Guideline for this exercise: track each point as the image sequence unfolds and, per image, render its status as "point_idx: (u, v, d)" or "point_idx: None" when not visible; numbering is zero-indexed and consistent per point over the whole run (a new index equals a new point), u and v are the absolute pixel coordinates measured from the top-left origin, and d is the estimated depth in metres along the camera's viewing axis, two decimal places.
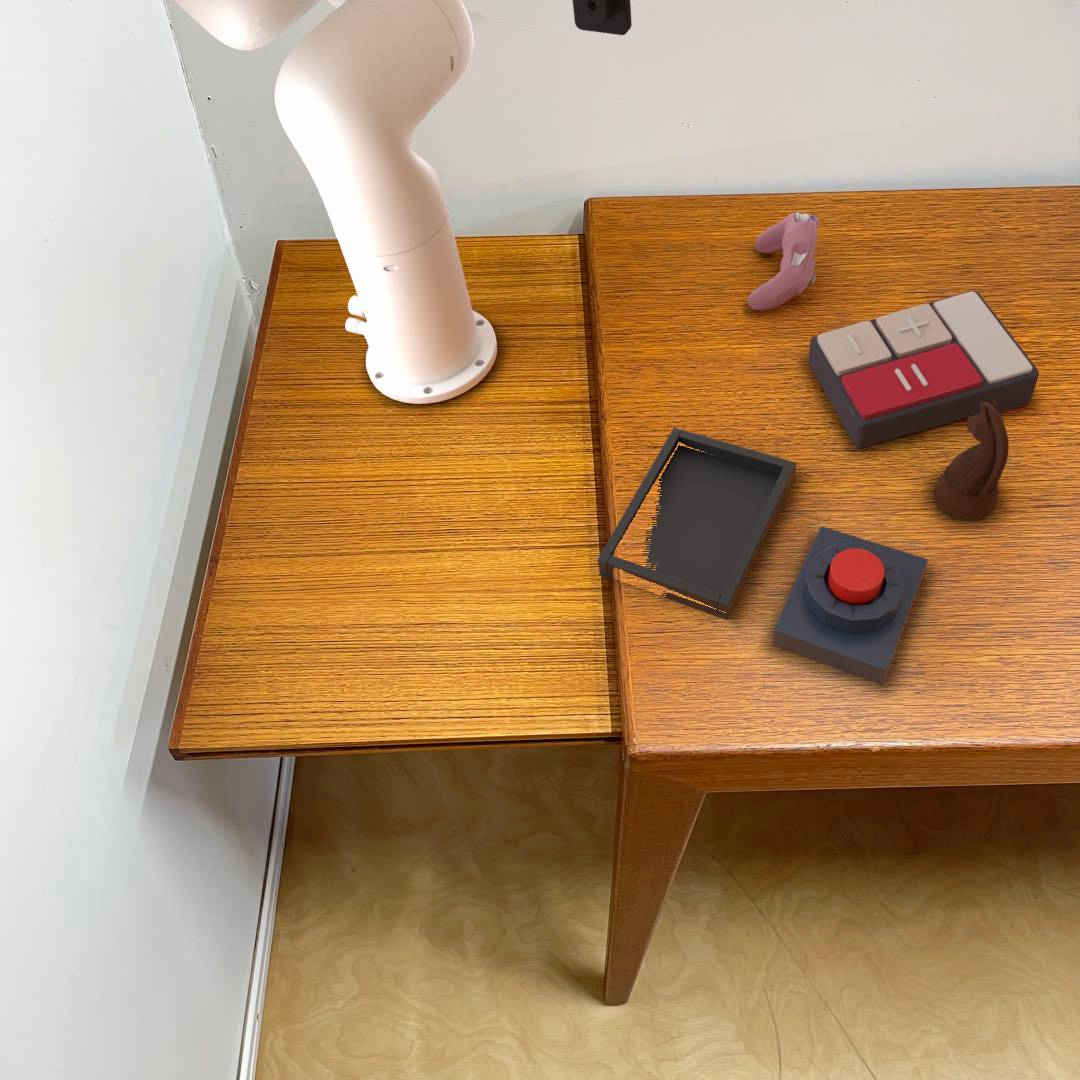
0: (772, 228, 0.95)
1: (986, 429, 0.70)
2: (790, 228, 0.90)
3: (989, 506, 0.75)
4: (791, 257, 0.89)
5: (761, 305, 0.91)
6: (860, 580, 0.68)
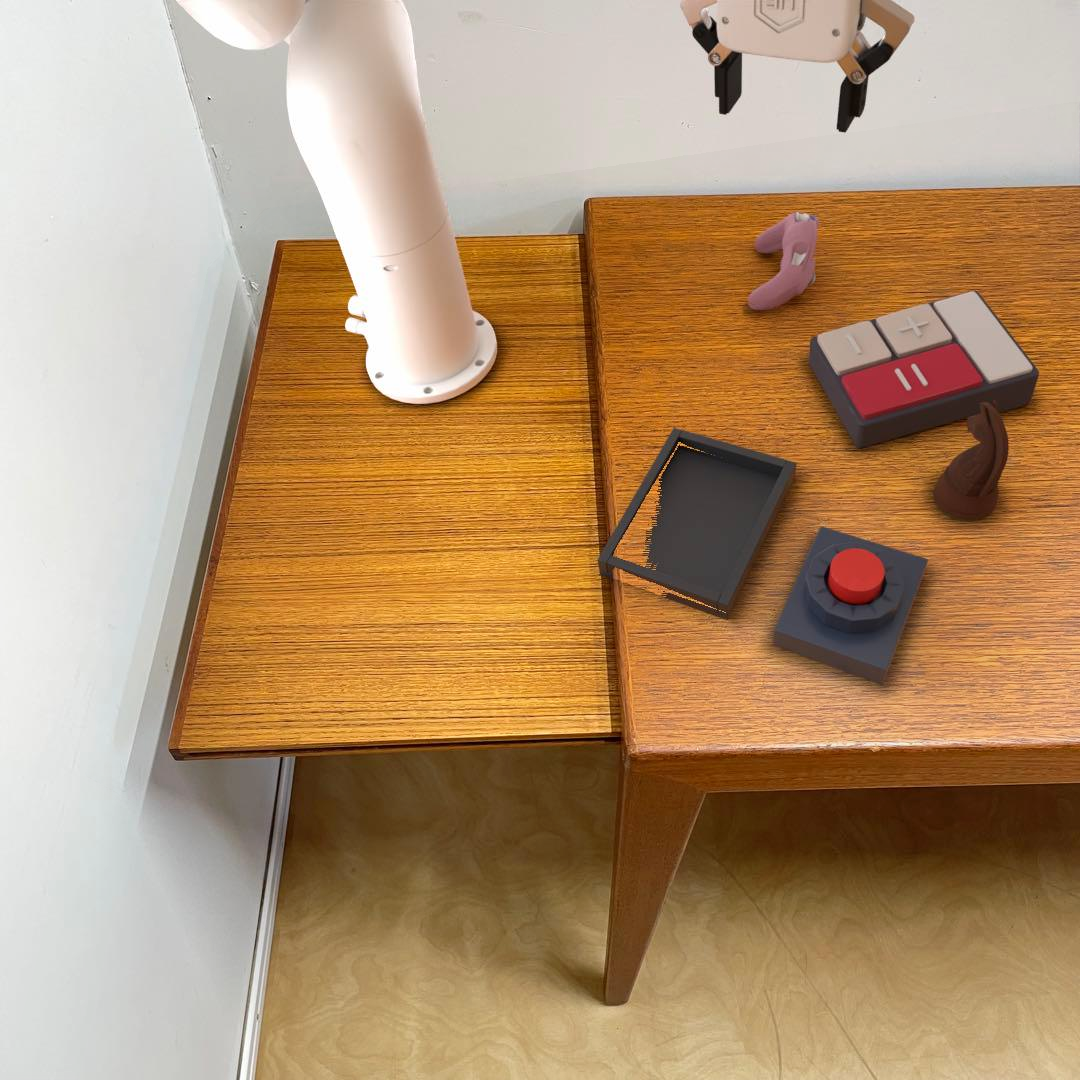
0: (772, 228, 0.95)
1: (986, 429, 0.70)
2: (790, 228, 0.90)
3: (989, 506, 0.75)
4: (791, 257, 0.89)
5: (761, 305, 0.91)
6: (860, 580, 0.68)
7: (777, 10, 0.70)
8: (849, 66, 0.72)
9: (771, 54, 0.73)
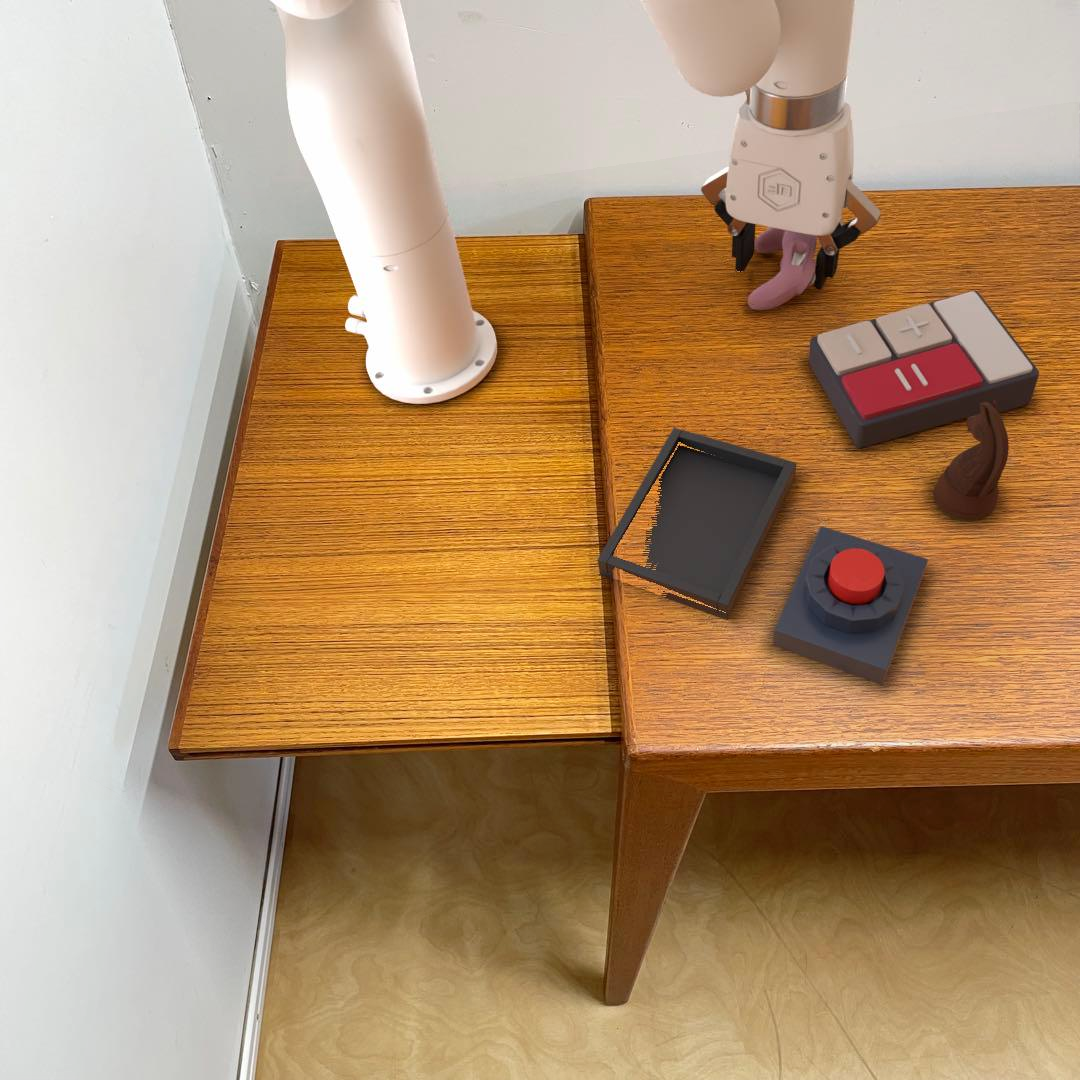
0: (772, 228, 0.95)
1: (986, 429, 0.70)
2: None
3: (989, 506, 0.75)
4: (791, 257, 0.89)
5: (761, 305, 0.91)
6: (860, 580, 0.68)
7: (777, 195, 0.84)
8: (826, 241, 0.87)
9: (771, 226, 0.87)
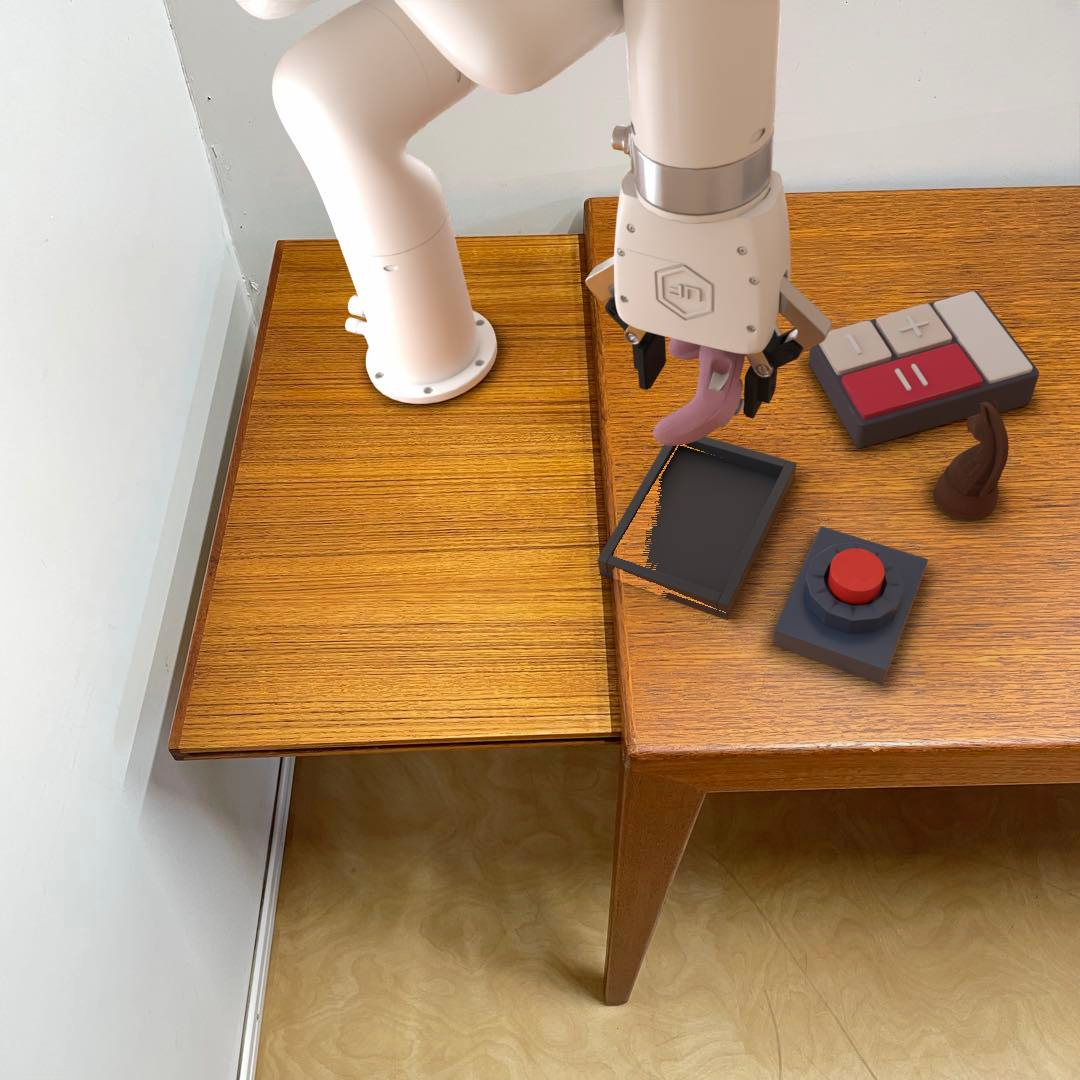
0: None
1: (986, 429, 0.70)
2: None
3: (989, 506, 0.75)
4: (709, 378, 0.64)
5: (671, 440, 0.66)
6: (860, 580, 0.68)
7: (682, 299, 0.59)
8: (756, 359, 0.62)
9: (678, 338, 0.62)
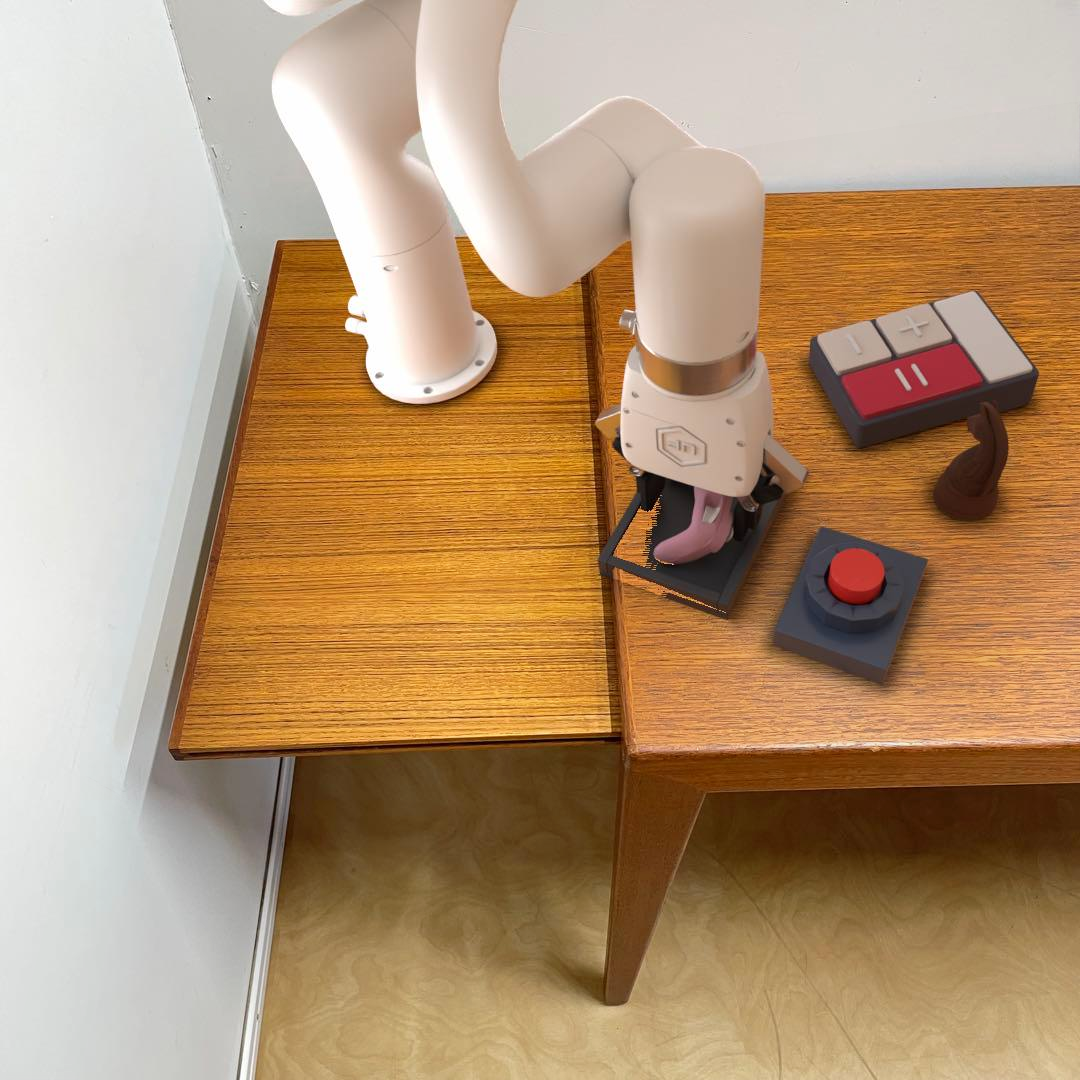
0: None
1: (986, 429, 0.70)
2: None
3: (989, 506, 0.75)
4: (702, 511, 0.73)
5: (669, 560, 0.75)
6: (860, 580, 0.68)
7: (679, 451, 0.68)
8: (743, 497, 0.71)
9: (676, 480, 0.71)
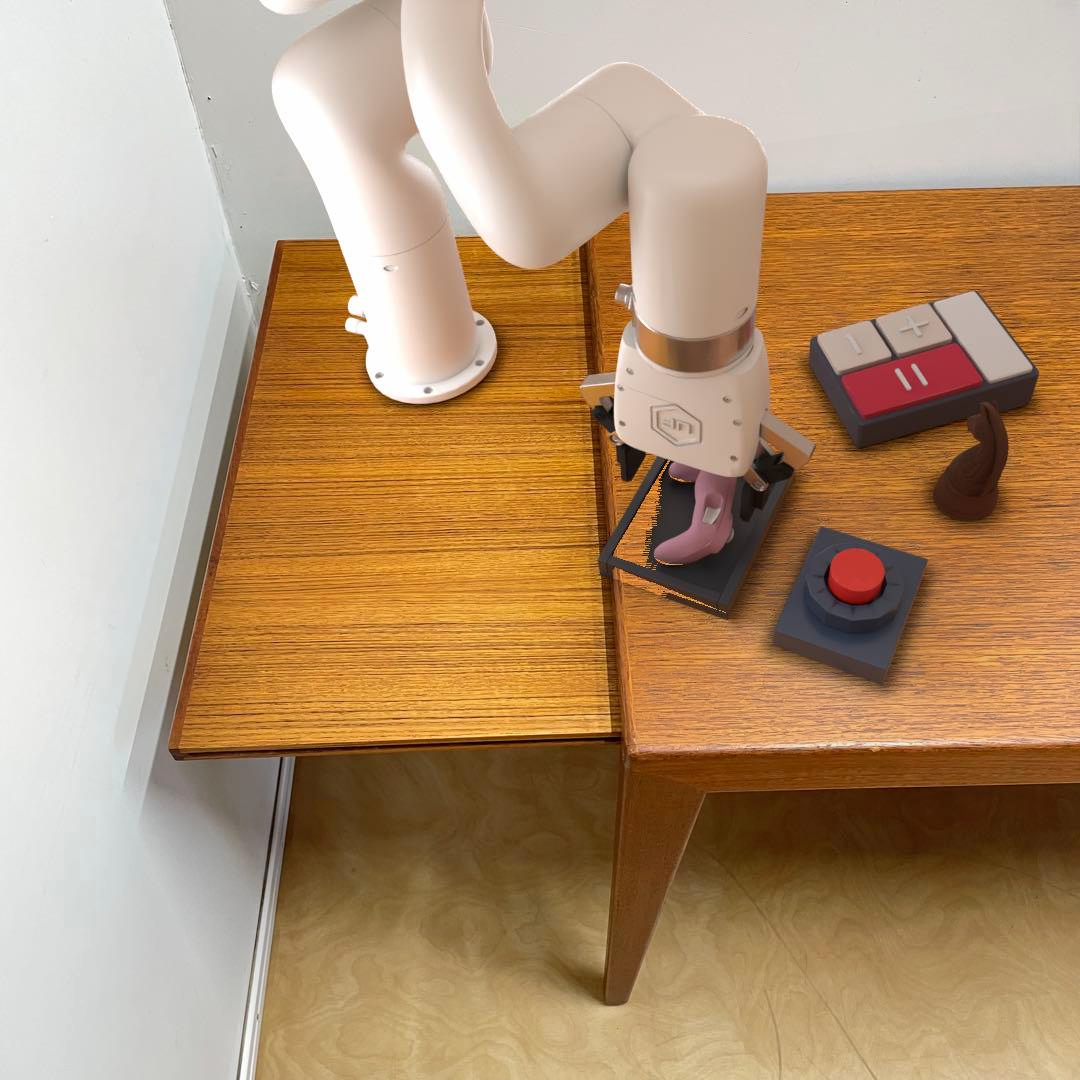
0: None
1: (986, 429, 0.70)
2: (704, 472, 0.74)
3: (989, 506, 0.75)
4: (703, 512, 0.73)
5: (669, 561, 0.75)
6: (860, 580, 0.68)
7: (674, 429, 0.67)
8: (750, 476, 0.69)
9: (670, 459, 0.70)
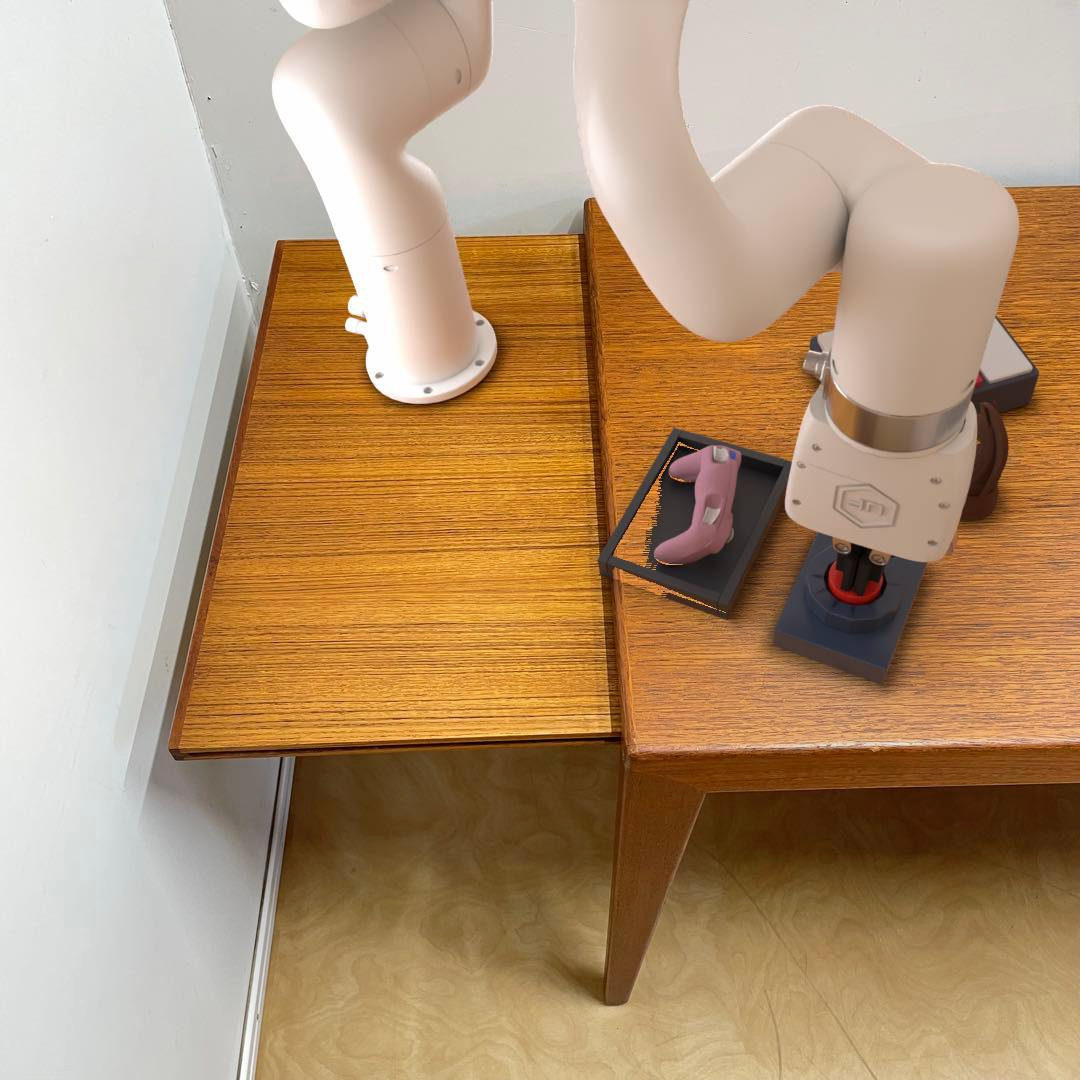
0: (687, 458, 0.79)
1: (986, 429, 0.70)
2: (704, 472, 0.74)
3: (989, 506, 0.75)
4: (703, 512, 0.73)
5: (669, 561, 0.75)
6: None
7: (862, 511, 0.59)
8: (881, 551, 0.63)
9: (850, 541, 0.62)
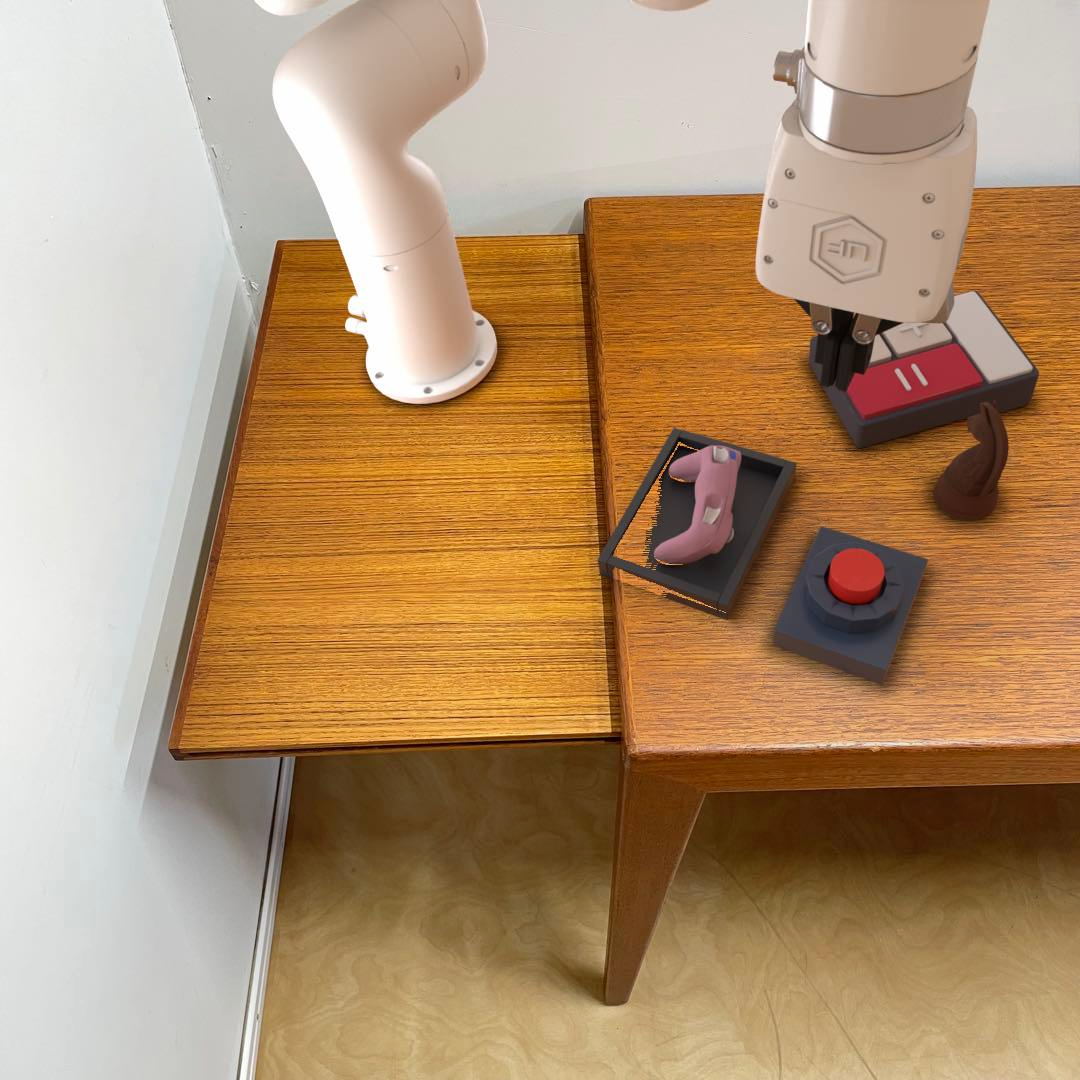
0: (687, 458, 0.79)
1: (986, 429, 0.70)
2: (704, 472, 0.74)
3: (989, 506, 0.75)
4: (703, 512, 0.73)
5: (669, 561, 0.75)
6: (860, 580, 0.68)
7: (843, 258, 0.51)
8: (866, 324, 0.55)
9: (830, 305, 0.54)
